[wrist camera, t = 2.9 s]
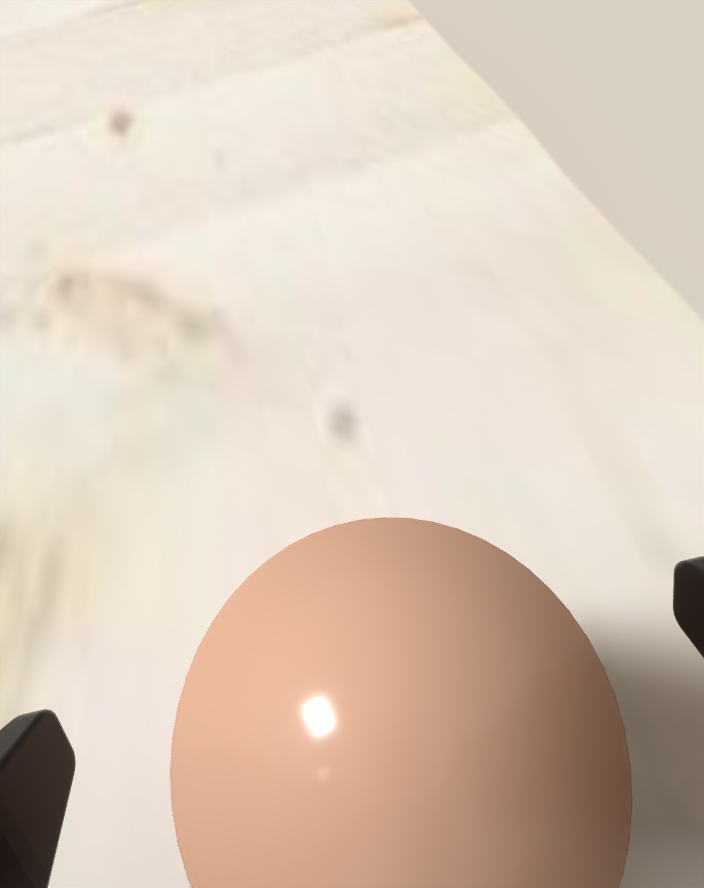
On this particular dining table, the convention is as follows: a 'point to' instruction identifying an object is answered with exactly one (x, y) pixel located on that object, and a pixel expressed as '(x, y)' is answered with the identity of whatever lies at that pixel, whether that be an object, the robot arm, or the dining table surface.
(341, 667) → the peach bullet knob
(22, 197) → the dining table surface
